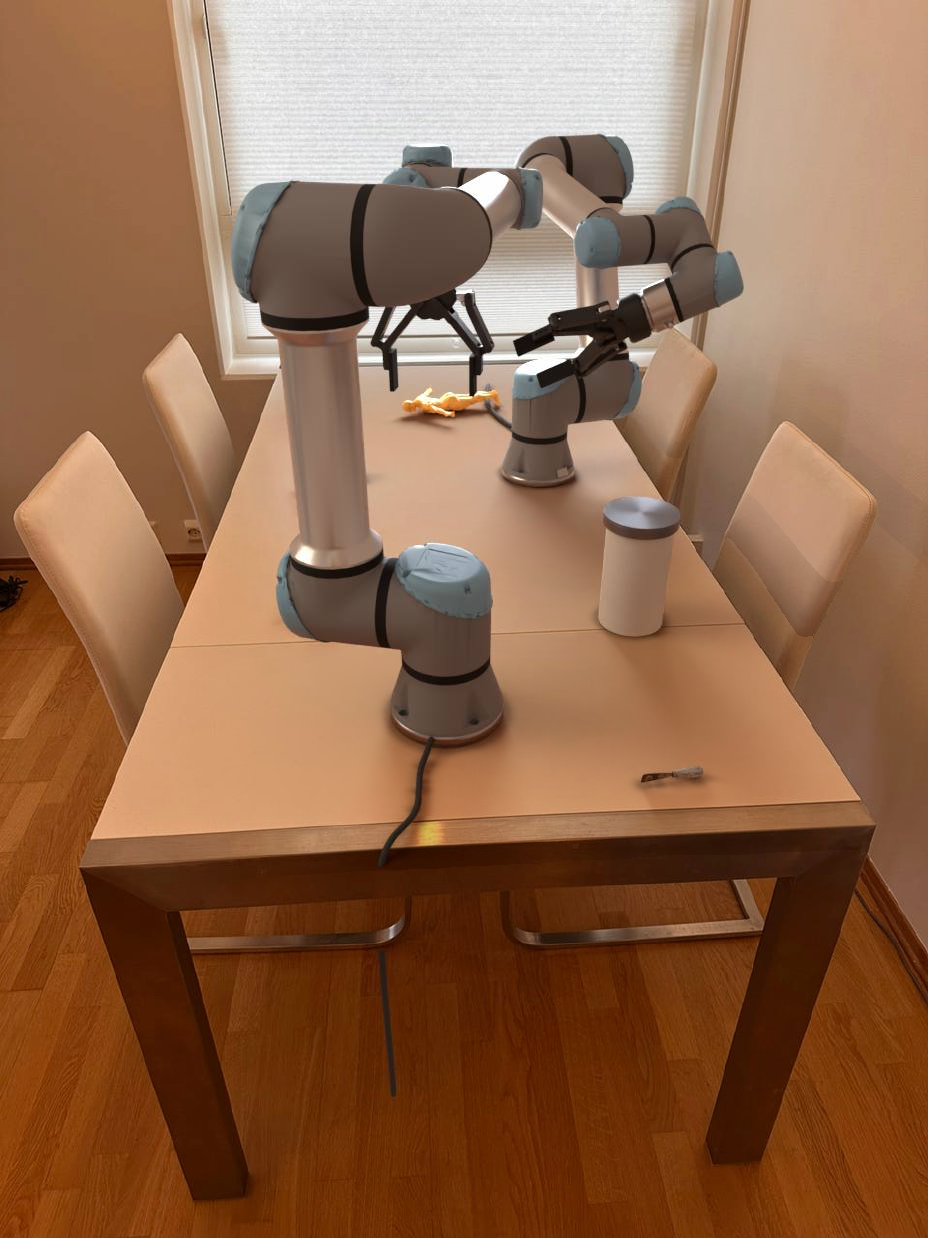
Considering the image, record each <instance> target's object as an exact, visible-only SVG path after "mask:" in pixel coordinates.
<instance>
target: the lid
mask: <svg viewBox="0 0 928 1238" xmlns="http://www.w3.org/2000/svg"><path fill="white" fill-rule="evenodd" d="M681 518H682V514H681V511H680V509H678V507H676V506H675V505H673V504H672V503H670V502H668V501H665V500H662V499H659V498H654V497H650V496H624V497H619V498H615V499H612V500H611V501H608V502H607V503H606V504H605V506H604V507H603V511H602V524H603V526H604V528H605V529H606V528H607V529H608V530H609V531H611V532H613V533H615V534H617V535H620V536H623V537H626V538H631V539H638V540H656V539H662V538H666V537H669V536H671V535H673V534H674V535H675V534H677V532H679V530H680V527H681V526H680V525H681Z"/></svg>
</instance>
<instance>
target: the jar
mask: <svg viewBox="0 0 928 1238" xmlns="http://www.w3.org/2000/svg"><path fill="white" fill-rule="evenodd" d="M604 537H605V539H604V550H603V559H602V560H603V561H602V570H601V571H602V572H601V581H600V582H601V583H600V594H599V604H598V605H599V606H598V618H597V619H598V622H599V623H600V625H601V626H602V627H604V629H605V630H607V631H609V632H611V633H612V634H613V633H614V634H617V635H619V636H624V637H631V638H632V637H634V638H635V637H645V636H646V637H647V636H649V635H652V634H654V633H656V632H657V631H659V630H660V629H661V628H662V625H663V619H664V612H665V603H666V598H667V597H666V596H667V589H668V582H669V575H670V567H671V559H672V553H673V546H674V545H673V544H674V538H675V534H673V535H671V536H669V537H666V538H662V539H656V540H638V539H631V538H626V537H623V536H620V535H617V534H615V533H613V532H611V531H609V530H608V529H607V528H606V527H605V536H604Z"/></svg>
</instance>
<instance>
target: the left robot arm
mask: <svg viewBox="0 0 928 1238" xmlns="http://www.w3.org/2000/svg"><path fill="white" fill-rule="evenodd" d="M453 155H454V153H453V150H452V148H451V147H450V146H449V145H448V144H441V143H414V144H408V145H405V146H404V147H403V149H402V155H401V156H402V159H401V161H402V162H401V166H400V167H398V168H397V169H394V170H393V171H391V172H390V173H389V174H388V175H387V176H386V177H385V178H384V179H383V180H382V182H381V183H353V182H350V183H349V182H329V181H300V180H289V181H277V182H266V183H265V182H264V183H261V184H258V185H255V186H254V187H253V188H252V189H250V190H249V191H248V192H247V194H246V195H245V196H244V198H243V200H242V201H241V203H240V205H239V208H238V211H237V214H236V216H235V219H234V222H233V223H234V224H233V229H232V235H231V242H230V245H231V246H230V262H231V270H232V276H233V281H234V284H235V286H236V287H237V288H238V293H239V295H240V296H241V297H242V298H243V299H245V300H246V301H248V302H249V303H252V304H258V306H259V313H260V314H259V315H260V322H261V325H262V327H263V328H264V329H266V330H267V331H268V332H269V333H270V334H271V335H273V336H274V337H275V338H276V340H277V345H278V353H279V354H278V355H279V363H280V370H281V372H280V373H281V378H282V379H281V381H282V389H283V398H284V406H285V407H284V408H285V414H286V424H287V433H288V441H289V450H290V460H291V467H292V477H293V485H294V493H295V502H296V511H297V521H298V528H299V533H298V534H297V535H296V536H295V537H294V538H293V539H292V540H291V542H290V544H289V548H288V550H287V551H286V552H285V553H284V554H283V555H282V557H281V558H280V561H279V564H278V567H277V572H276V579H277V584H276V585H275V599H276V604H277V609H278V612H279V615H280V617H281V619H282V622H283V624H284V625H285V627H286V628H287V629H288V631H290V633H292V634H294V635H295V636H298V637H299V638H303V639H309V640H314V641H317V642H320V643H326V644H328V643H336V644H337V643H338V644H346V645H354V646H364V647H371V648H372V647H373V648H379V649H380V648H381V649H390V650H398V651H400V655H401V667H400V669H399V672H398V675H397V678H396V681H395V684H394V687H393V690H392V693H391V696H390V703H389V706H390V718H391V721H392V724H393V725H394V727H395V728H396V729H397V731H398V732H399V733H400V734H402V735H403V736H404V737H406V738H407V739H409V740H411V741H413V742H415V743H417V744H420V745H421V744H422V745H425V747H424V749H423V753H422V755H421V758H420V760H419V763H418V765H417V769H416V776H415V792H414V804H413V806H412V809H411V811H410V812H409V814H408V816H407V817H406V818H405V819H404V820H403V821H402V822H401V823H400V824H399V825H398V826H397V827H396V828H395V829H394V830H393V831H392V832H391V833H390V835H389V836H388V838H387V839H386V841H385V842H384V845H383V847H382V849H381V852H380V854H379V858H378V861H377V865H378V866H379V867H384V866H385V865H386V862H387V859H388V855H389V853H390V851H391V848H392V847H393V845H394V844H395V841H396V840H397V839H398V837H399V836H400V835H401V834H402V833H403V832H404V831H405V830H406V829H407V828H408V827H409V826H411V824H412V823H414V821H415V819H416V818H417V816H418V814H419V812H420V809H421V806H422V798H423V786H424V785H423V784H424V783H423V782H424V772H425V768H426V764H427V762H428V760H429V757H430V755H431V751H432V750H433V747H437V748H454V747H455V748H457V747H463V746H467V745H471V744H473V743H476V742H480V741H481V740H483V739H485V738H486V737H488V736H489V735H491V734H492V733H493V732H494V731H495V730H496V729H498V727H499V726H500V724H501V722H502V720H503V717H504V696H503V693H502V690H501V687H500V685H499V682H498V679H497V677H496V674H495V672H494V668H493V666H492V664H491V654H492V653H491V651H492V649H491V648H492V647H491V645H492V643H491V642H492V641H491V640H492V608H493V606H494V605H493V604H494V598H493V593H492V584H491V581H492V580H491V574H490V571H489V569H488V567H487V565H486V564H485V563H484V562H483V561H482V560H480V559H479V557H478V556H477V555H476V554H474V553H472V552H470V551H468V550H466V549H465V548H462V547H459V546H455V545H451V544H447V543H439V542H427V543H424V545H420V544H414V545H412V546H410V547H407V548H405V549H404V550H403V551H401V553H400V554H399V555H398V557H392V556H385V553H384V542H383V538H382V537H381V535H380V534H379V533H378V532H376V531H375V530H374V529H372V528H371V527H370V526H371V525H370V513H369V511H370V510H369V499H368V498H369V496H368V482H367V468H366V453H365V439H364V438H365V437H364V425H363V424H364V423H363V421H364V420H363V408H362V395H361V382H360V381H361V380H360V378H361V377H360V366H359V365H360V364H359V350H358V349H359V347H358V335H359V333H360V332H361V331H362V330H363V329H364V328H365V326H366V325H368V323H369V322H370V307H371V308H384V309H383V311H382V314H381V316H380V319H379V321H378V324H377V325H376V328H375V330H374V333H373V335H372V337H371V339H370V342H369V344H370V346H371V347H372V348H378V349H379V350H380V351H381V353H382V368H383V370H384V371H388V380H389V381H388V382H389V392H392V393H394V392H396V390H397V389H398V388H399V366H398V348H395V347H393V345H394V344H395V343H396V342H397V341H398V339H399V338H400V337H401V335H402V334H403V333H405V331H406V330H407V328H408V327H409V325H410V324H411V323H412V322H413V320H414V319H415V318H416V317H417V318H419V319H420V320H421V321H425V320H433V321H441V320H443V319H444V320H445V322H446V323H447V324H448V325H450V326H451V327H452V329H453V331H455V332H456V334H457V335H458V337H459V338H460V339H461V340H462V342H463V343H464V344H465V346H466V347H467V348H468V349H469V350H470V352H471V353H470V355H469V356H468V394H469V397H474V395H475V394H476V392H477V391H478V376H482V374H483V371H484V355H485V354H491V353H492V351H493V350H494V348H495V345H496V344H495V342H494V340H493V338H492V336H491V333H490V332H489V330H488V329H489V328H488V327H487V325H486V323H485V321H484V318H483V315H482V314H481V312H480V310H479V307H478V305H477V301H476V292H475V290H473V289H472V288H471V289H468V290H467V291H457V288H458V287H460V286H462V285H463V284H465V283H466V282H468V281H469V280H471V279H472V278H473V277H474V276H476V274H477V273H478V272H479V271H480V270H481V269H482V268H483V267H484V266H485V264H486V262H487V260H488V259H489V257H490V255H491V252H492V248H493V245H494V244H495V243H496V242H497V241H498V240H499V239H500V238H501V237H502V236H504V234H505V233H506V232H507V231H508V230H511V229H512V230H516V231H522V230H531V229H532V230H533V229H537V227H538V226H539V225H540V223H541V220H542V215H543V212H542V207H543V179H542V175H541V173H540V172H539V171H538V170H536V169H523V168H521V167H515V168H513V167H459V166H457V167H456V166H454V156H453ZM457 301H459V303H460V304H461V306H462V307H465V311H466V313H467V316H468V318H469V321H470V323H471V325H472V326H473V329H474V331H475V333H476V335H477V337H478V338H477V337H476V336H475V334H474V333H473V332H472V331H471V330H470V328H469V327H468V325H467V324H466V323H465V322H464V320H463V319H462V318H461V317H460V315H459V312H458V311H457V310H456V308H455V307H454V305H455V304H456V302H457ZM406 306H409V307H410V308H409V310H408V311H407V312H406V314H405V315H404V316H403V318H402V319H401V320H400V322H399V323H398V324H397V325H396V327H395V328H394V329H393V330H392V332H391V333H390V334H389V336H388V337H387V338H386V339H384V337H385V334H386V332H387V329H388V327H389V324H390V322H391V320H392V318H393V316H394V313H395V311H396V309H397V308H399V307H406ZM378 966H379V979H380V980H379V982H380V993H381V1004H382V1014H383V1015H382V1016H383V1025H384V1033H385V1034H384V1035H385V1036H384V1037H385V1045H386V1055H387V1067H388V1079H389V1090H390V1092H389V1094H390V1096H391V1097H392V1098H395V1097H396V1096H397V1094H398V1093H397V1080H396V1069H395V1056H394V1055H395V1054H394V1047H393V1046H394V1045H393V1044H394V1043H393V1036H392V1035H393V1034H392V1023H391V1014H390V1001H389V989H388V977H387V975H388V974H387V956H386V951H385V950H381V949H378Z"/></svg>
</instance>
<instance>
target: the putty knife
mask: <svg viewBox="0 0 928 1238" xmlns="http://www.w3.org/2000/svg"><path fill="white" fill-rule="evenodd" d="M704 772H705V771H704V768H702V767H701V766H697V765H695V766H688V767H683V768H679V769H675V770H673V771H671V772H653V773H652V772H651V773H650V772H649V773H644V774H642V776H641V779H640V783H642V784H645V783H648V782H653V781H659V780H665V779H668V778H673V779H674V778H675V779H693V778H694V779H695V778H700V777H702V776H703V775H704Z"/></svg>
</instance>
